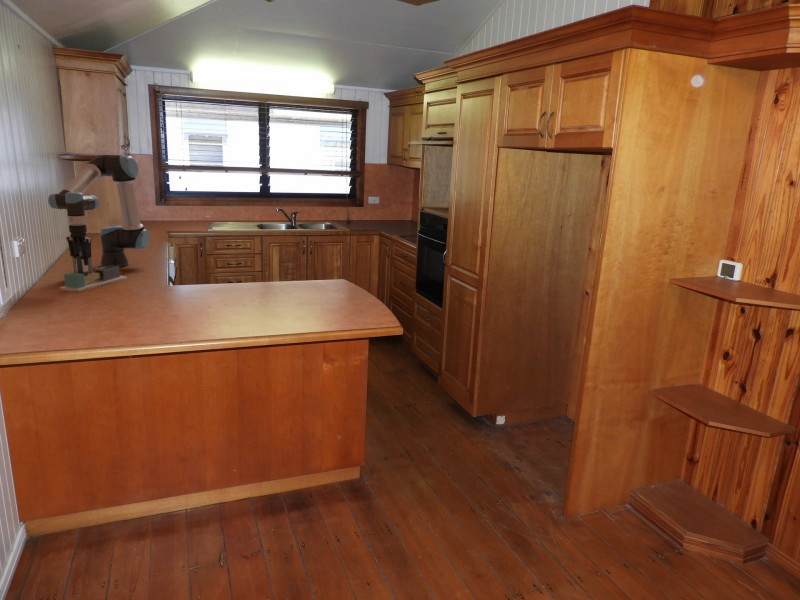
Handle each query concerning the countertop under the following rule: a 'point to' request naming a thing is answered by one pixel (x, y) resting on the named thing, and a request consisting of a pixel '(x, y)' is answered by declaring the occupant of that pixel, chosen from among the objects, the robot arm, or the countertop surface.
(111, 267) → the sleeve
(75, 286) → the green rectangular block
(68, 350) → the countertop surface
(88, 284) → the base board
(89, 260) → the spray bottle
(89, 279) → the l-shaped block
